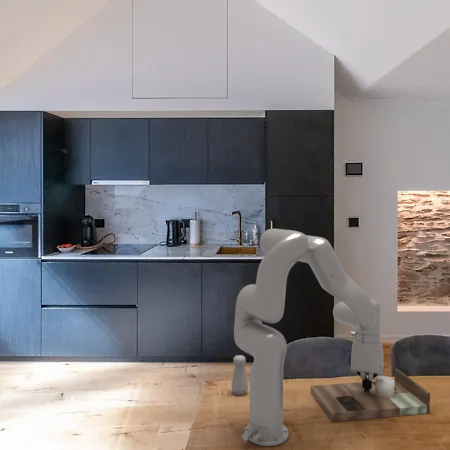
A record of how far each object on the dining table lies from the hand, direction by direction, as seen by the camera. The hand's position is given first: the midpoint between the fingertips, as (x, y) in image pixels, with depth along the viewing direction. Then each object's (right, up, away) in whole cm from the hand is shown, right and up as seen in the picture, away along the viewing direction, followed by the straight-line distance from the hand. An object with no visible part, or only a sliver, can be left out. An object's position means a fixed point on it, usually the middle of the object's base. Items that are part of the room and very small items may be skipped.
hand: (367, 390), depth 154 cm
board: (0, -4, -1) cm, 4 cm away
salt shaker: (-42, -4, +7) cm, 43 cm away
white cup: (+6, -1, -1) cm, 6 cm away
